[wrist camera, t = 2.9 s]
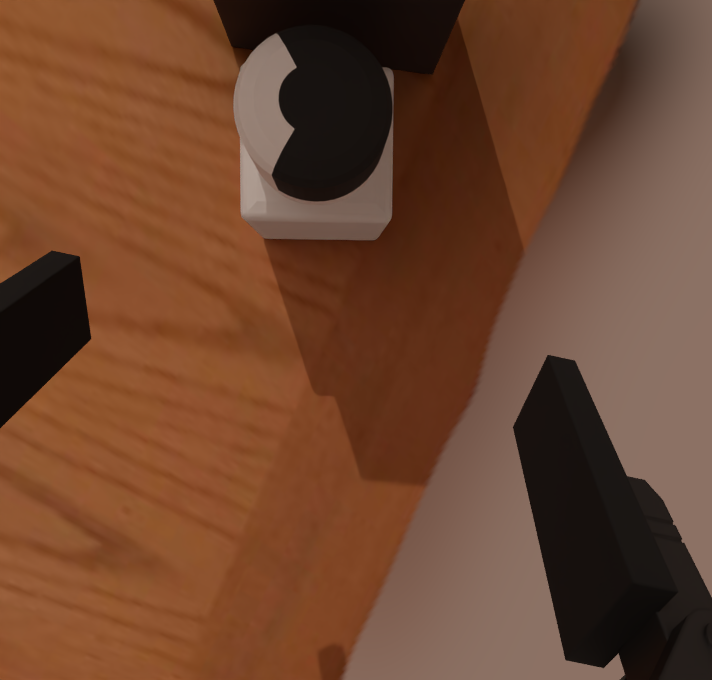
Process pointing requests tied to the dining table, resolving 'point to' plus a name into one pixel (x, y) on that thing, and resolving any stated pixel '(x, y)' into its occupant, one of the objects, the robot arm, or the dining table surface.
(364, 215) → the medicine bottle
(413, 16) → the lidded grey box
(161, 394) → the dining table surface
